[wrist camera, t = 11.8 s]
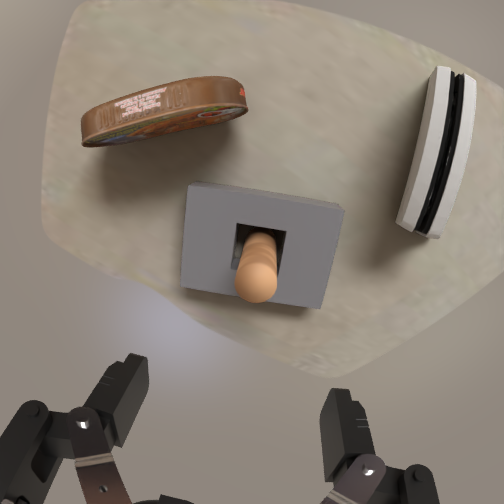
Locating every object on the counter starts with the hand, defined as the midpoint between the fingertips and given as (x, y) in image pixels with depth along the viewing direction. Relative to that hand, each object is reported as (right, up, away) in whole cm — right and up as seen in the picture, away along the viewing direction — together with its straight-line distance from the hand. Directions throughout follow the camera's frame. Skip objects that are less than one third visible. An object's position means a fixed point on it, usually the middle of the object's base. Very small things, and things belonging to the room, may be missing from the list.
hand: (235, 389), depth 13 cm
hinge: (+18, +16, +15) cm, 29 cm away
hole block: (+1, +7, +19) cm, 20 cm away
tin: (-7, +19, +16) cm, 26 cm away
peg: (+2, +7, +19) cm, 21 cm away
